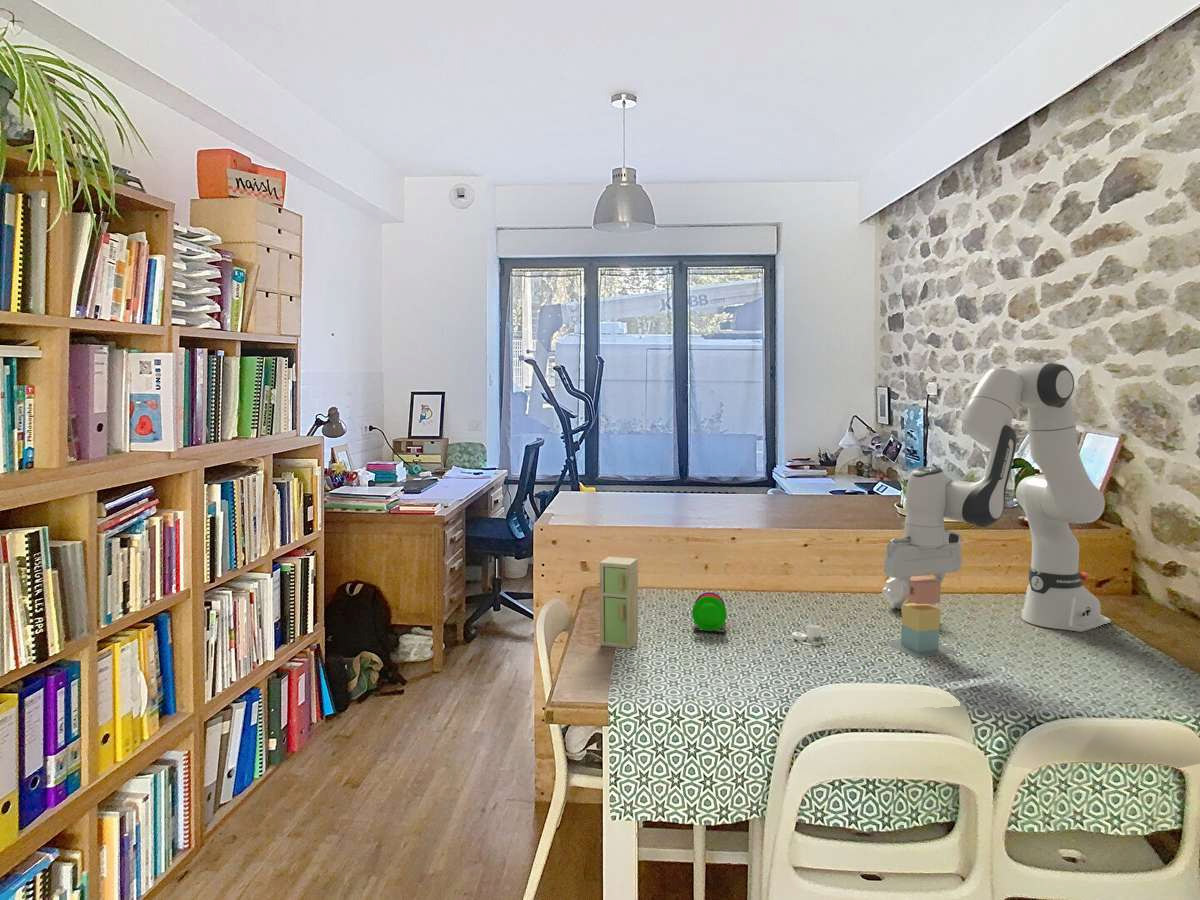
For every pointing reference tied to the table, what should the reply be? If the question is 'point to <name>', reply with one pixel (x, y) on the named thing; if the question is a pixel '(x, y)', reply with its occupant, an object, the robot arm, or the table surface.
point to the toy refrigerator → (618, 602)
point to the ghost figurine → (894, 592)
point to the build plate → (915, 654)
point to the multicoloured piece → (709, 612)
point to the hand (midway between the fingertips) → (921, 592)
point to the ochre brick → (921, 617)
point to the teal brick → (920, 639)
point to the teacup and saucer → (809, 634)
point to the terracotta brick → (924, 590)
